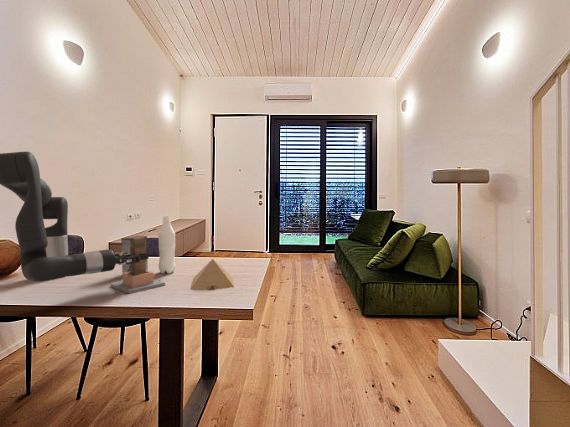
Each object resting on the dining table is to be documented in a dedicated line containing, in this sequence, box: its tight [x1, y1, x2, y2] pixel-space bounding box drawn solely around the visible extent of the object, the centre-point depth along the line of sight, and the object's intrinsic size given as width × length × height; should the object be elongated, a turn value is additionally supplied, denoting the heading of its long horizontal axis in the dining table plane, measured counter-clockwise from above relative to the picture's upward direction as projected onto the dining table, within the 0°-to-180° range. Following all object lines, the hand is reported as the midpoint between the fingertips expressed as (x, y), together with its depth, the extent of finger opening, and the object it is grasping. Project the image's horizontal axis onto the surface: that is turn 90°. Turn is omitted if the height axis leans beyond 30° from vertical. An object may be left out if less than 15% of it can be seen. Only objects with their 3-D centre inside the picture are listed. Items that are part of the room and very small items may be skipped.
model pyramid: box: [189, 258, 235, 290], centre depth 129 cm, size 17×17×10 cm
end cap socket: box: [110, 270, 166, 294], centre depth 124 cm, size 14×14×5 cm
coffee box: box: [120, 235, 149, 273], centre depth 143 cm, size 9×6×16 cm
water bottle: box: [157, 215, 177, 275], centre depth 145 cm, size 7×7×25 cm
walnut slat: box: [130, 237, 146, 275], centre depth 124 cm, size 4×4×16 cm
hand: (144, 255), depth 126 cm, fingers closed on walnut slat, 4 cm apart
